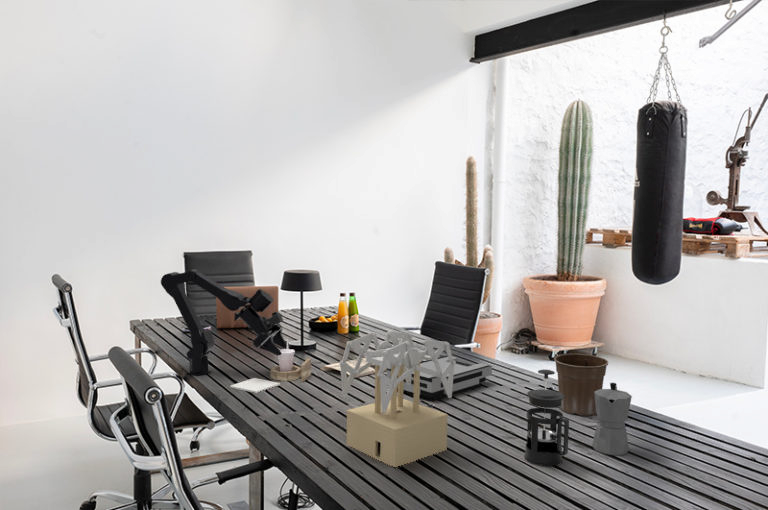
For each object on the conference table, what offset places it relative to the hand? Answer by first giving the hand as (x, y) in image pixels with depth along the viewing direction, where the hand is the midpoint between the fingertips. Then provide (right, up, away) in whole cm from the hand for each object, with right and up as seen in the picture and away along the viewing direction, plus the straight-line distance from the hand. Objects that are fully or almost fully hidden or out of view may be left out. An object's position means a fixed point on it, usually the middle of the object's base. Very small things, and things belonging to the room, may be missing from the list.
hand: (284, 351), depth 241 cm
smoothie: (0, -10, +1) cm, 10 cm away
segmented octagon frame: (+2, -9, +1) cm, 10 cm away
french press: (+77, -17, -73) cm, 107 cm away
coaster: (-8, -10, -11) cm, 17 cm away
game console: (+56, -11, -9) cm, 58 cm away
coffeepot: (+97, -17, -64) cm, 117 cm away
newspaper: (+31, -9, +18) cm, 37 cm away
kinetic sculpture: (+39, -16, -65) cm, 78 cm away
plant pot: (+98, -14, -32) cm, 104 cm away
